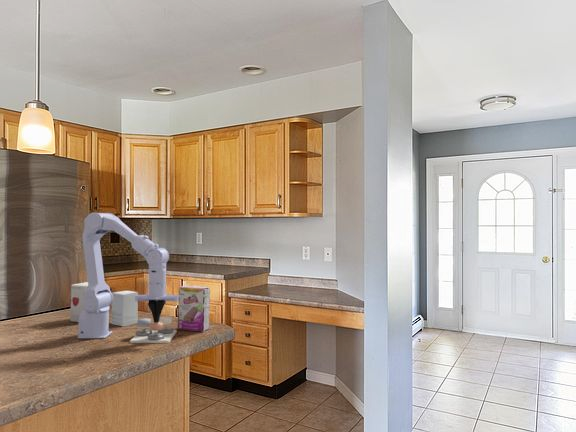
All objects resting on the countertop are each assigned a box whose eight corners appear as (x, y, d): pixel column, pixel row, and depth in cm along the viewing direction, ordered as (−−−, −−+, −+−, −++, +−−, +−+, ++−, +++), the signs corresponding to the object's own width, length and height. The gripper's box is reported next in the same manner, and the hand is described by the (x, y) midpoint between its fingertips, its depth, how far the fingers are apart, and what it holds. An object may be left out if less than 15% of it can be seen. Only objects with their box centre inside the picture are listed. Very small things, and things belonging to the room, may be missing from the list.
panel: (129, 342, 145) (129, 335, 145) (140, 332, 159) (140, 325, 159) (168, 342, 146) (169, 335, 146) (176, 332, 160) (176, 325, 160)
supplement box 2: (138, 323, 172) (138, 291, 172) (122, 326, 166) (123, 294, 166) (126, 320, 176) (127, 290, 176) (110, 324, 170) (111, 292, 170)
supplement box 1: (69, 321, 173) (70, 284, 173) (85, 316, 181) (86, 281, 182) (87, 323, 170) (88, 285, 170) (103, 318, 179) (104, 282, 179)
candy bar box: (177, 329, 163) (178, 286, 164) (183, 326, 168) (184, 284, 168) (203, 332, 160) (204, 288, 160) (209, 329, 165) (210, 286, 165)
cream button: (157, 324, 154) (157, 319, 154) (160, 321, 159) (160, 316, 159) (170, 324, 154) (170, 319, 154) (173, 321, 159) (173, 316, 159)
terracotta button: (147, 330, 146) (148, 324, 146) (151, 327, 151) (151, 321, 151) (161, 330, 146) (161, 324, 146) (164, 327, 151) (164, 321, 151)
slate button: (135, 326, 151) (135, 321, 151) (139, 323, 155) (139, 318, 155) (148, 326, 151) (149, 321, 151) (152, 323, 156) (152, 318, 156)
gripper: (132, 284, 144) (131, 324, 144) (176, 284, 145) (175, 324, 145) (138, 281, 151) (137, 319, 151) (180, 281, 152) (179, 319, 152)
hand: (156, 321), depth 149 cm, fingers closed
